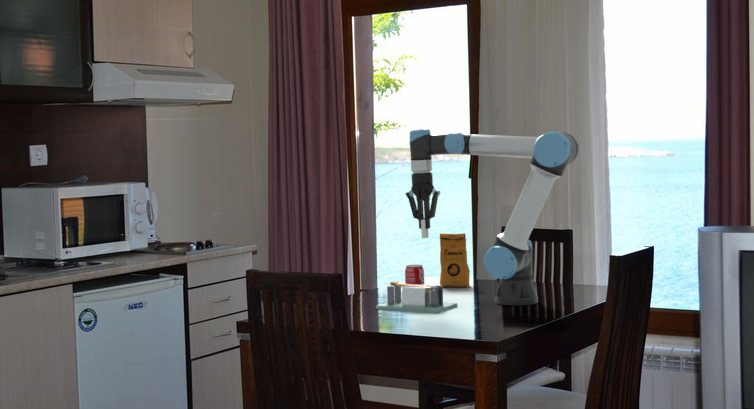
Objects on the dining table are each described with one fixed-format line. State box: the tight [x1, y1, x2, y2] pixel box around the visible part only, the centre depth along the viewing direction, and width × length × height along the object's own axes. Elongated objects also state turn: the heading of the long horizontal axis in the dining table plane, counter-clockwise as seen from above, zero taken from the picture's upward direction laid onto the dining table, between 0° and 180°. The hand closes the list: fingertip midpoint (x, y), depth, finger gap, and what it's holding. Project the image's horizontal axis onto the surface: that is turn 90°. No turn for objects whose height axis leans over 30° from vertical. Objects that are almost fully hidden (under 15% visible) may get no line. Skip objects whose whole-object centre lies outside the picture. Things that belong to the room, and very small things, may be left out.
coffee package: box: [439, 232, 471, 288], centre depth 381 cm, size 10×12×22 cm
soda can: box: [404, 264, 425, 285], centre depth 346 cm, size 7×7×13 cm
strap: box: [389, 281, 431, 290], centre depth 329 cm, size 17×2×1 cm, turn 60°
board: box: [375, 299, 458, 314], centre depth 328 cm, size 24×16×1 cm, turn 60°
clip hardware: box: [386, 284, 444, 307], centre depth 328 cm, size 19×7×8 cm, turn 60°
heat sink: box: [401, 284, 436, 307], centre depth 328 cm, size 9×9×6 cm
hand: (425, 237), depth 334 cm, fingers closed
